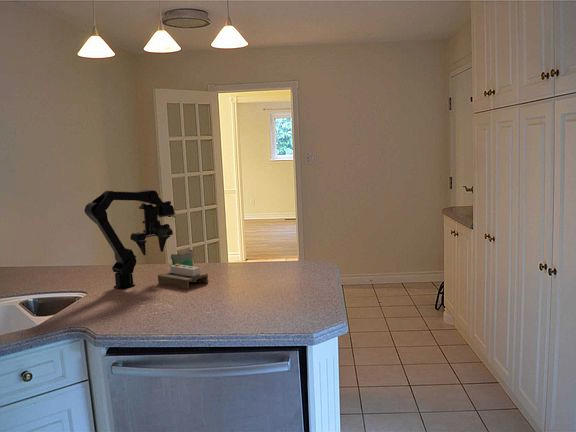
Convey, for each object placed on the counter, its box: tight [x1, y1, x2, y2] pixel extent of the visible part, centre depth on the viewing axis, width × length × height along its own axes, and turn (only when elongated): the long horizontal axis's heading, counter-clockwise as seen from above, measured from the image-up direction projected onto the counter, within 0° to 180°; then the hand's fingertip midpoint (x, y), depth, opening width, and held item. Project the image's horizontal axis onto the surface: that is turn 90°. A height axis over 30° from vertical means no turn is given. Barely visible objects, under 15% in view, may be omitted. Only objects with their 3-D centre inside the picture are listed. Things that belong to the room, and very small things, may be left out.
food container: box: [170, 249, 195, 267], centre depth 240 cm, size 12×6×10 cm, turn 143°
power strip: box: [170, 264, 201, 283], centre depth 224 cm, size 4×14×7 cm, turn 54°
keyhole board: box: [157, 270, 209, 290], centre depth 223 cm, size 12×18×4 cm, turn 54°
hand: (153, 253), depth 230 cm, fingers open, 9 cm apart
